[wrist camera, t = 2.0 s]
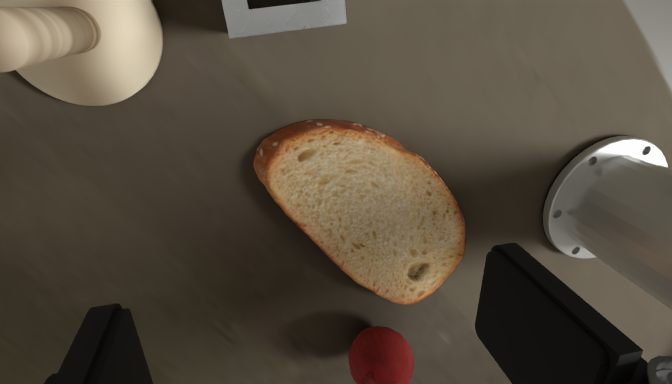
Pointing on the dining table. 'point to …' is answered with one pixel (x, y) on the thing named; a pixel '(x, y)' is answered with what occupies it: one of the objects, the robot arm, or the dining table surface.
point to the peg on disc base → (82, 47)
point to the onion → (380, 357)
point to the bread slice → (366, 205)
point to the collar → (281, 17)
